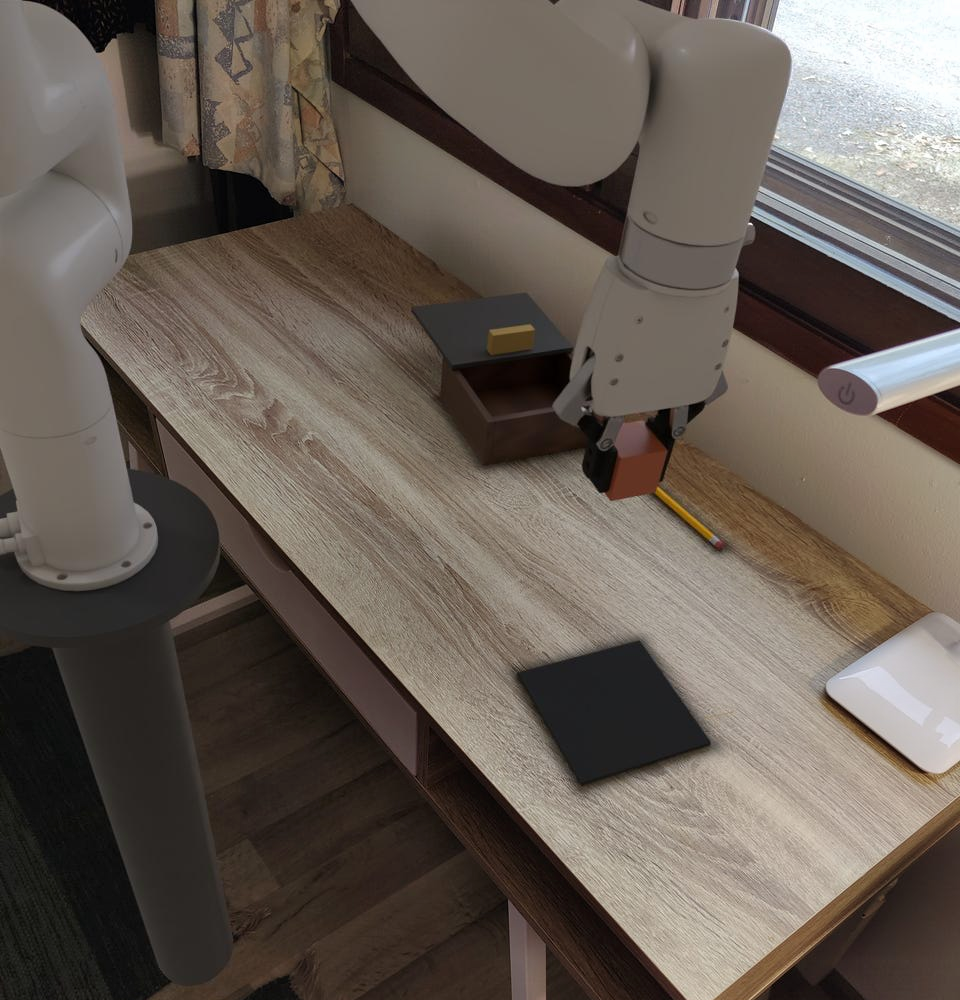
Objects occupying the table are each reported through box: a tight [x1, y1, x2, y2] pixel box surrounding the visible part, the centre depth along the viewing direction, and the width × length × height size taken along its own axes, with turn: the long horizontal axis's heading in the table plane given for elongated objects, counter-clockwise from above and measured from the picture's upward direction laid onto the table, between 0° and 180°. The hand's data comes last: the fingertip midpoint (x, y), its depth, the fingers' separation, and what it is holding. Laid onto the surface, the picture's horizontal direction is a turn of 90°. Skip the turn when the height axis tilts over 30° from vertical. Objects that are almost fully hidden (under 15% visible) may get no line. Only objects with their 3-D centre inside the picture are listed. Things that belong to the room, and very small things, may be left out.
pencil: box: [653, 486, 725, 550], centre depth 101 cm, size 1×13×1 cm, turn 34°
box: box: [439, 352, 606, 466], centre depth 108 cm, size 15×13×5 cm
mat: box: [516, 640, 712, 786], centre depth 82 cm, size 12×12×1 cm
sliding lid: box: [410, 292, 575, 370], centre depth 111 cm, size 15×13×3 cm
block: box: [604, 419, 668, 502], centre depth 75 cm, size 4×4×4 cm
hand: (622, 474), depth 76 cm, fingers closed on block, 4 cm apart
